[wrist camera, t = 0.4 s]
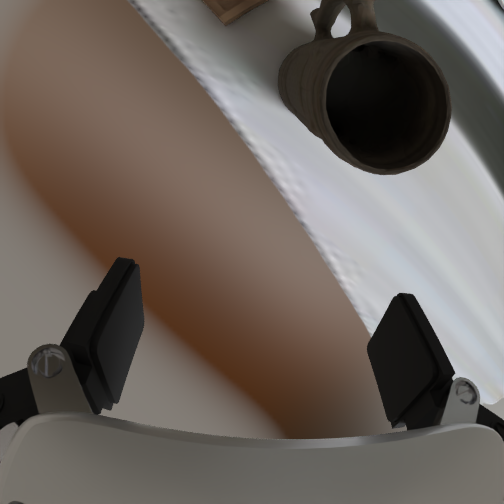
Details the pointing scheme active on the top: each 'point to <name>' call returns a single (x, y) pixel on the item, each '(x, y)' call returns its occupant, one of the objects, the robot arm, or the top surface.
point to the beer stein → (367, 92)
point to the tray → (232, 8)
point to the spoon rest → (501, 3)
